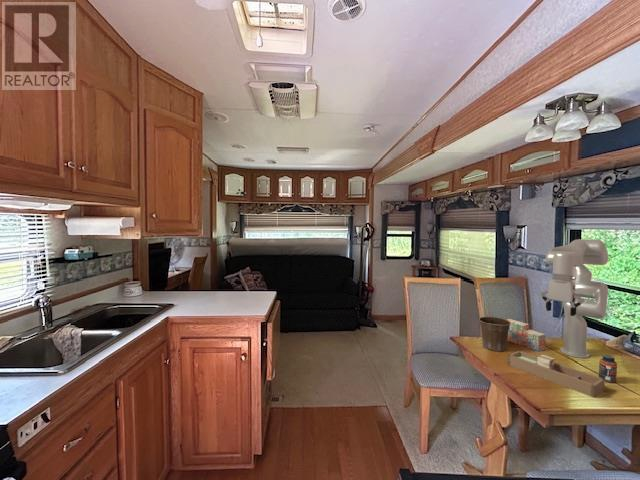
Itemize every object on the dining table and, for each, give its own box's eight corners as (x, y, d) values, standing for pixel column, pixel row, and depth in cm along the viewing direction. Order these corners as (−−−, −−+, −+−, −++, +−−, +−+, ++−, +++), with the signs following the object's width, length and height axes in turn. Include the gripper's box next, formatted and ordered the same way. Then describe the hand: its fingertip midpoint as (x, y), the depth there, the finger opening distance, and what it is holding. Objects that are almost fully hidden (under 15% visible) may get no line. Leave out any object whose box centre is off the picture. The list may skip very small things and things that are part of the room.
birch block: (542, 364, 149) (542, 354, 148) (554, 368, 144) (554, 358, 144) (537, 367, 146) (537, 357, 146) (549, 371, 142) (549, 361, 142)
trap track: (519, 359, 161) (519, 350, 160) (604, 390, 131) (604, 379, 131) (507, 364, 155) (508, 355, 155) (594, 397, 125) (594, 386, 125)
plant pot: (472, 342, 184) (472, 316, 183) (496, 341, 186) (497, 315, 185) (490, 354, 168) (490, 325, 167) (516, 352, 170) (517, 324, 169)
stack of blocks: (545, 350, 173) (545, 329, 172) (538, 351, 171) (538, 330, 170) (509, 337, 193) (509, 318, 192) (502, 338, 190) (503, 319, 190)
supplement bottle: (612, 384, 136) (613, 360, 135) (595, 378, 141) (596, 354, 140) (619, 381, 138) (620, 357, 137) (602, 375, 143) (603, 352, 143)
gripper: (588, 280, 139) (586, 316, 140) (545, 275, 154) (543, 308, 155) (581, 281, 136) (579, 318, 136) (538, 275, 151) (536, 309, 151)
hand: (560, 313), depth 145 cm, fingers open, 9 cm apart
